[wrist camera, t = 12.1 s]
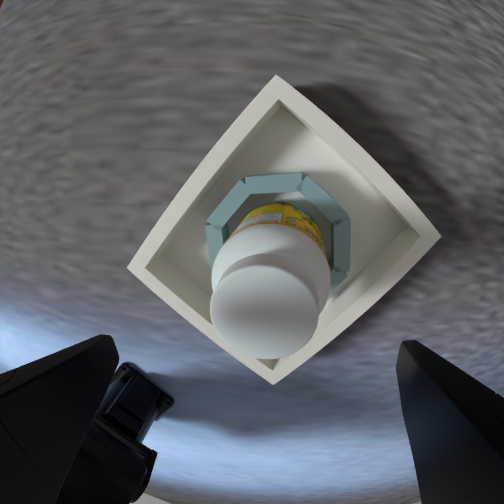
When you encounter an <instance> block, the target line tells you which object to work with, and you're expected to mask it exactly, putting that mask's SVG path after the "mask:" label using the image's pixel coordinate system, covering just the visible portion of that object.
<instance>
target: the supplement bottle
mask: <svg viewBox="0 0 504 504" xmlns="http://www.w3.org/2000/svg"><path fill="white" fill-rule="evenodd" d="M211 280H212V290H213V294H212V298H211V301H210V316H211V320H212V323H213V326H214V328H215V330H216V332H217V334H218V335H219V337H220V338H221V339H222V340H223V341H224V342H225V343H226V344H227V345H228V346H229V347H231V348H232V349H234V350H235V351H237V352H239V353H241V354H243V355H246V356H248V357H252V358H257V359H278V358H282V357H286V356H289V355H291V354H293V353H295V352H297V351H298V350H300V349H301V348H303V347H304V346H305V345H306V344H307V343H308V342H309V341H310V339H311V338H312V336H313V335H314V333H315V330H316V328H317V324H318V319H319V315H320V313H321V312H322V310H323V309H324V307H325V305H326V303H327V300H328V297H329V294H330V288H331V276H330V268H329V264H328V261H327V257H326V252H325V248H324V244H323V241H322V236H321V233H320V230H319V227H318V225H317V223H316V222H315V220H314V219H313V218H312V216H311V215H310V214H308V213H307V212H306V211H305V210H303V209H302V208H300V207H299V206H297V205H295V204H292V203H289V202H284V201H274V202H269V203H265V204H262V205H260V206H258V207H257V208H255V209H254V210H252V211H251V212H250V213H249V214H248V215H247V216H246V217H245V218H244V220H243V221H242V222H241V223H240V225H239V226H238V227H237V229H236V230H235V231H234V232H233V233H232V235H231V236H230V237H229V238H228V240H227V241H226V242H225V243H224V245H223V246H222V248H221V249H220V251H219V252H218V254H217V256H216V259H215V261H214V264H213V269H212V277H211Z"/></svg>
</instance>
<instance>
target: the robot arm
mask: <svg viewBox="0 0 504 504" xmlns="http://www.w3.org/2000/svg"><path fill="white" fill-rule="evenodd" d="M118 363H119V354H118V351H117V349H116V346H115V343H114V340H113V338H112V337H111V336H110V335H103V334H101V335H98V336H95V337H93V338H90V339H88V340H85V341H83V342H80V343H78V344H75V345H73V346H71V347H68V348H66V349H63V350H61V351H58V352H56V353H53V354H51V355H48V356H46V357H43V358H41V359H38V360H36V361H33V362H30V363H28V364H25V365H23V366H20V367H18V368H15V369H13V370H10V371H7V372H5V373H2V374H0V504H129V503H134V502H135V501H136V500H138V499H139V498H140V496H141V495H142V494H143V492H144V491H145V489H146V487H147V485H148V483H149V480H150V476H151V473H152V470H153V466H154V463H155V460H156V457H157V452H156V451H154V450H151V449H149V448H148V447H146V446H145V445H143V444H142V442H143V440H144V438H145V436H146V434H147V432H148V431H149V429H150V427H151V425H152V423H153V421H154V419H156V418H157V417H158V416H160V415H161V414H162V413H164V412H165V411H166V410H167V409H169V408H170V407H171V406H173V404H174V400H173V399H172V398H171V397H170V396H168V395H167V394H166V393H164V392H163V391H161V390H160V389H159V388H157V387H156V386H155V385H153V384H152V383H151V382H150V381H148V380H147V379H146V378H144V377H143V376H142V375H141V374H139V373H138V372H137V371H136V370H134V369H133V368H132V367H131V366H129V365H128V364H127V363H122V364H121V366H120V367H119V368H118V369H117V371H116V372H115V370H116V368H117V365H118ZM396 373H397V379H398V385H399V391H400V398H401V406H402V412H403V417H404V421H405V425H406V429H407V433H408V438H409V442H410V446H411V451H412V455H413V460H414V465H415V469H416V474H417V480H418V485H419V491H420V496H421V502H422V504H504V398H503V397H502V396H500V395H499V394H495V392H494V391H493V390H491V389H490V388H488V387H487V386H485V385H484V384H482V383H481V382H479V381H478V380H476V379H475V378H473V377H471V376H470V375H468V374H467V373H465V372H464V371H462V370H461V369H459V368H458V367H456V366H455V365H453V364H452V363H450V362H449V361H447V360H446V359H444V358H442V357H441V356H439V355H438V354H436V353H435V352H433V351H432V350H430V349H429V348H427V347H426V346H424V345H422V344H421V343H419V342H418V341H416V340H406V341H403V342H402V343H401V345H400V349H399V354H398V359H397V363H396Z"/></svg>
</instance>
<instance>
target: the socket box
mask: <svg viewBox="0 0 504 504" xmlns="http://www.w3.org/2000/svg"><path fill="white" fill-rule="evenodd" d="M274 201H284V202H289V203H292V204H295V205H297V206H299V207H300V208H302V209H303V210H305V211H306V212H307V213H308V214H310V215H311V216H312V218H313V219H314V220H315V222H316V223H317V225H318V227H319V230H320V233H321V236H322V241H323V244H324V248H325V252H326V257H327V261H328V264H329V268H330V276H331V288H330V294H329V297H328V300H327V303H326V305H325V307H324V309H323V310H322V312H321V313H320V315H319V319H318V324H317V328H316V330H315V333H314V335H313V336H312V338H311V339H310V341H309V342H308V343H307V344H306V345H305V346H304V347H303V348H301V349H300V350H298V351H297V352H295V353H293V354H291V355H289V356H286V357H282V358H278V359H257V358H252V357H248V356H246V355H243V354H241V353H239V352H237V351H235V350H234V349H232V348H231V347H229V346H228V345H227V344H226V343H225V342H224V341H223V340H222V339H221V338H220V337H219V335H218V334H217V332H216V330H215V328H214V326H213V323H212V320H211V316H210V301H211V298H212V294H213V290H212V280H211V277H212V269H213V264H214V261H215V259H216V256H217V254H218V252H219V251H220V249H221V248H222V246H223V245H224V243H225V242H226V241H227V240H228V238H229V237H230V236H231V235H232V233H233V232H234V231H235V230H236V229H237V227H238V226H239V225H240V223H241V222H242V221H243V220H244V218H245V217H246V216H247V215H248V214H249V213H250V212H251V211H252V210H254V209H255V208H257V207H258V206H260V205H262V204H265V203H269V202H274ZM440 238H441V235H440V234H439V232H438V231H437V230H436V229H435V227H434V226H433V225H432V224H431V222H430V221H429V220H428V219H427V217H426V216H425V215H424V214H423V213H422V211H421V210H420V209H419V208H418V207H417V206H416V204H415V203H414V202H413V201H412V200H411V199H410V197H409V196H408V195H407V194H406V193H405V192H404V191H403V190H402V189H401V187H400V186H399V185H398V184H397V183H396V182H395V181H394V180H393V179H392V178H391V177H390V176H389V174H388V173H387V172H386V171H385V170H384V169H383V168H382V167H381V166H380V165H379V164H378V163H377V162H376V161H375V160H374V159H373V158H372V157H371V156H370V155H369V154H368V153H367V152H366V151H365V150H364V149H363V148H362V147H361V146H360V145H359V144H358V143H357V142H356V141H355V140H354V139H352V138H351V137H350V136H349V135H348V134H347V133H346V132H345V131H344V130H343V129H342V128H341V127H339V126H338V125H337V124H336V123H335V122H334V121H333V120H332V119H330V118H329V117H328V116H327V115H326V114H325V113H324V112H322V111H321V110H320V109H319V108H318V107H316V106H315V105H314V104H313V103H312V102H310V101H309V100H308V99H307V98H306V97H304V96H303V95H302V94H301V93H299V92H298V91H297V90H296V89H294V88H293V87H292V86H290V85H289V84H288V83H287V82H285V81H284V80H283V79H281V78H280V77H279V76H277V75H275V76H274V77H273V79H272V80H271V81H270V82H269V83H268V84H267V85H266V86H265V87H264V88H263V89H262V91H261V92H260V93H259V94H258V95H257V96H256V97H255V98H254V99H253V101H252V102H251V103H250V104H249V105H248V106H247V107H246V109H245V110H244V111H243V112H242V113H241V114H240V116H239V117H238V118H237V119H236V120H235V121H234V123H233V124H232V125H231V126H230V127H229V129H228V130H227V131H226V132H225V133H224V135H223V136H222V137H221V138H220V140H219V141H218V142H217V143H216V144H215V146H214V147H213V148H212V149H211V151H210V152H209V153H208V154H207V156H206V157H205V158H204V160H203V161H202V162H201V163H200V165H199V166H198V167H197V169H196V170H195V171H194V172H193V174H192V175H191V176H190V178H189V179H188V180H187V182H186V183H185V184H184V186H183V187H182V188H181V190H180V191H179V193H178V194H177V195H176V197H175V198H174V199H173V201H172V202H171V204H170V205H169V206H168V208H167V209H166V211H165V212H164V213H163V215H162V216H161V218H160V219H159V220H158V222H157V223H156V225H155V226H154V228H153V229H152V231H151V232H150V234H149V235H148V237H147V238H146V240H145V241H144V243H143V244H142V246H141V247H140V249H139V250H138V252H137V253H136V255H135V256H134V258H133V259H132V261H131V262H130V264H129V266H128V267H127V269H129V270H130V271H131V272H132V273H133V274H134V275H135V276H136V277H137V278H138V279H140V280H141V281H142V282H143V283H144V284H145V285H146V286H147V287H149V288H150V289H151V290H152V291H153V292H154V293H155V294H157V295H158V296H159V297H160V298H161V299H162V300H164V301H165V302H166V303H167V304H168V305H169V306H171V307H172V308H173V309H174V310H175V311H177V312H178V313H179V314H180V315H181V316H183V317H184V318H185V319H186V320H187V321H189V322H190V323H191V324H192V325H194V326H195V327H196V328H197V329H199V330H200V331H201V332H202V333H204V334H205V335H206V336H207V337H209V338H210V339H211V340H213V341H214V342H215V343H216V344H218V345H219V346H220V347H222V348H223V349H224V350H226V351H227V352H228V353H229V354H231V355H232V356H233V357H235V358H236V359H238V360H239V361H240V362H242V363H243V364H244V365H246V366H247V367H248V368H250V369H251V370H253V371H254V372H255V373H257V374H258V375H260V376H261V377H262V378H264V379H265V380H267V381H268V382H270V383H271V384H272V385H274V384H276V383H277V382H278V381H280V380H281V379H283V378H284V377H285V376H287V375H288V374H289V373H291V372H292V371H293V370H295V369H296V368H297V367H299V366H300V365H301V364H303V363H304V362H305V361H307V360H308V359H309V358H310V357H312V356H313V355H314V354H316V353H317V352H318V351H319V350H321V349H322V348H323V347H324V346H326V345H327V344H328V343H329V342H330V341H332V340H333V339H334V338H335V337H337V336H338V335H339V334H340V333H341V332H343V331H344V330H345V329H346V328H347V327H348V326H350V325H351V324H352V323H353V322H354V321H355V320H357V319H358V318H359V317H360V316H361V315H362V314H363V313H364V312H366V311H367V310H368V309H369V308H370V307H371V306H372V305H373V304H374V303H376V302H377V301H378V300H379V299H380V298H381V297H382V296H383V295H384V294H385V293H386V292H387V291H388V290H390V289H391V288H392V287H393V286H394V285H395V284H396V283H397V282H398V281H399V280H400V279H401V278H402V277H403V276H404V275H405V274H406V273H407V272H408V271H409V270H410V269H411V268H412V267H413V266H414V265H415V264H416V263H417V262H418V261H419V260H420V259H421V258H422V257H423V256H424V255H425V254H426V253H427V252H428V250H429V249H430V248H431V247H432V246H433V245H434V244H435V243H436V242H437V241H438V240H439V239H440Z"/></svg>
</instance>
